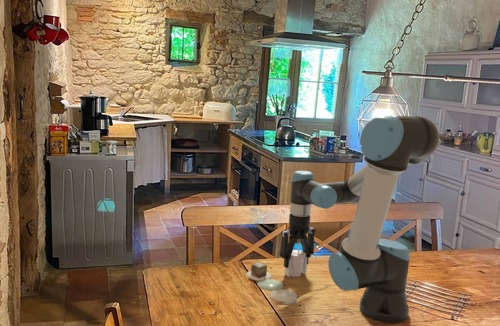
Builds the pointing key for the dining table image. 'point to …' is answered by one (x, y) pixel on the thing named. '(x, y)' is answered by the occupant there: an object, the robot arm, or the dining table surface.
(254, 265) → the letter cube
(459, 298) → the dining table surface
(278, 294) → the saucer near
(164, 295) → the dining table surface
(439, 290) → the dining table surface
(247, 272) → the saucer far
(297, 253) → the smoothie
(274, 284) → the saucer mid
